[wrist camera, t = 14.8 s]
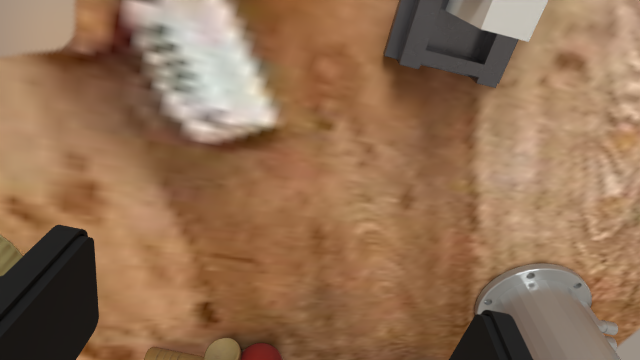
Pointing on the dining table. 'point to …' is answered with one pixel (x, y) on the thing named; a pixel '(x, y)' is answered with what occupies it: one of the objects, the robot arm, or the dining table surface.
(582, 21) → the dining table surface
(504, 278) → the robot arm
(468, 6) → the door panel
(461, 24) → the floor track
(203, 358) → the kendama
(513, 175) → the dining table surface
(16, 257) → the potted cactus
